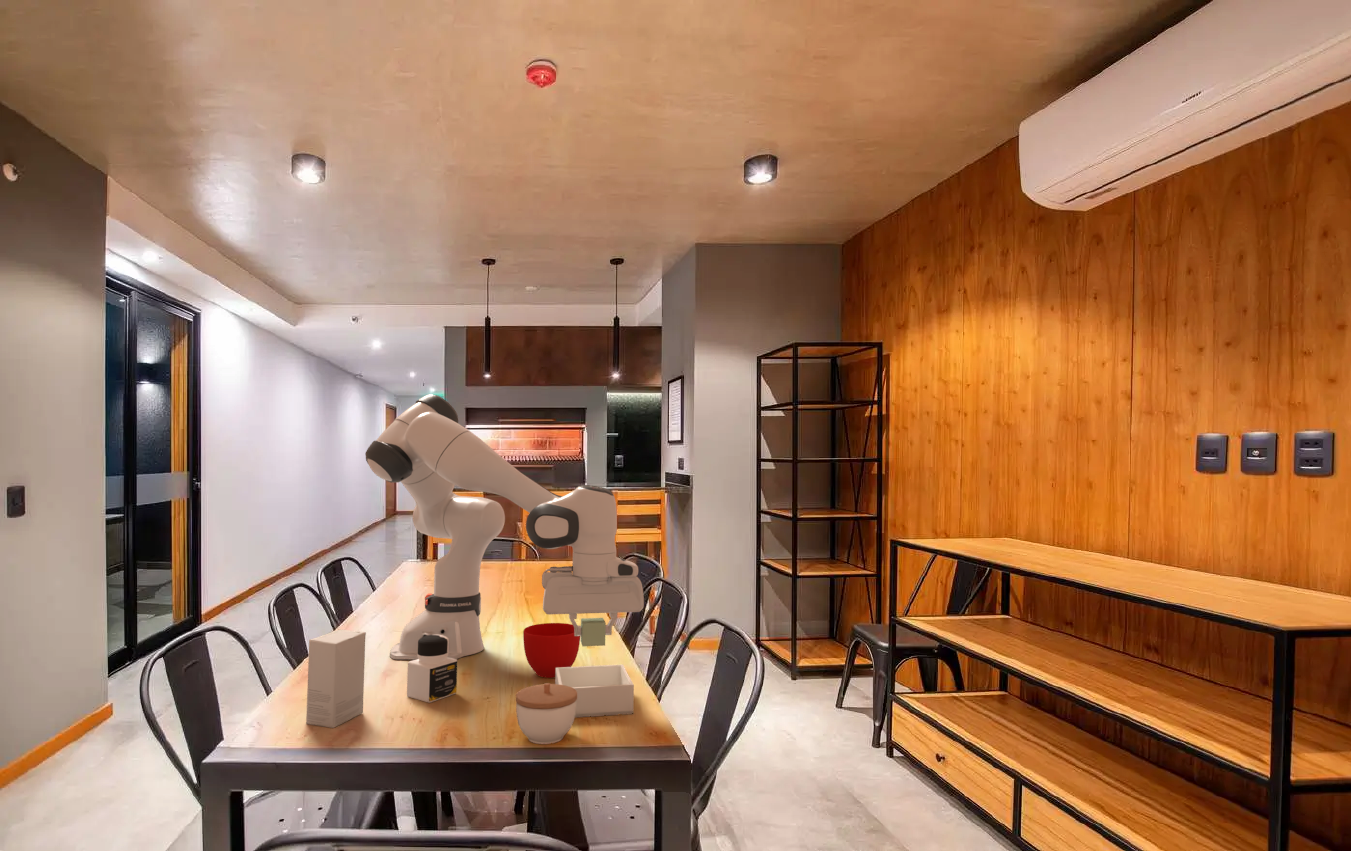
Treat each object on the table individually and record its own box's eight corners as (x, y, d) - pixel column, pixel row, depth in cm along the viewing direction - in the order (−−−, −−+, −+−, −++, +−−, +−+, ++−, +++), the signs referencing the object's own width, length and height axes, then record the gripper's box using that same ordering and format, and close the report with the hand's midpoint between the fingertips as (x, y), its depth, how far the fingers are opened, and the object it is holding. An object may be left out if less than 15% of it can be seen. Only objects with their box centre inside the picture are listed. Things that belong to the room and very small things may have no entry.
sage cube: (582, 646, 144) (582, 623, 144) (580, 640, 148) (581, 618, 148) (605, 645, 145) (605, 622, 145) (602, 639, 149) (603, 617, 149)
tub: (559, 718, 138) (559, 689, 138) (555, 694, 151) (555, 667, 152) (633, 713, 141) (633, 684, 141) (622, 690, 155) (622, 664, 155)
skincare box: (337, 709, 141) (340, 628, 141) (366, 713, 139) (368, 631, 139) (303, 724, 133) (306, 638, 133) (333, 729, 131) (336, 641, 131)
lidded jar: (525, 725, 134) (526, 673, 135) (582, 727, 133) (583, 676, 134) (506, 748, 123) (507, 692, 124) (568, 751, 122) (569, 694, 123)
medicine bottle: (429, 703, 145) (431, 642, 145) (405, 696, 149) (407, 637, 149) (457, 693, 151) (458, 635, 151) (434, 687, 155) (435, 630, 155)
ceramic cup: (578, 659, 177) (578, 618, 178) (581, 681, 161) (581, 635, 161) (523, 661, 175) (524, 619, 176) (521, 683, 158) (522, 637, 159)
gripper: (542, 569, 142) (541, 640, 141) (646, 567, 146) (644, 637, 146) (541, 564, 148) (540, 633, 147) (640, 563, 152) (639, 629, 152)
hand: (592, 635), depth 146 cm, fingers closed on sage cube, 4 cm apart
